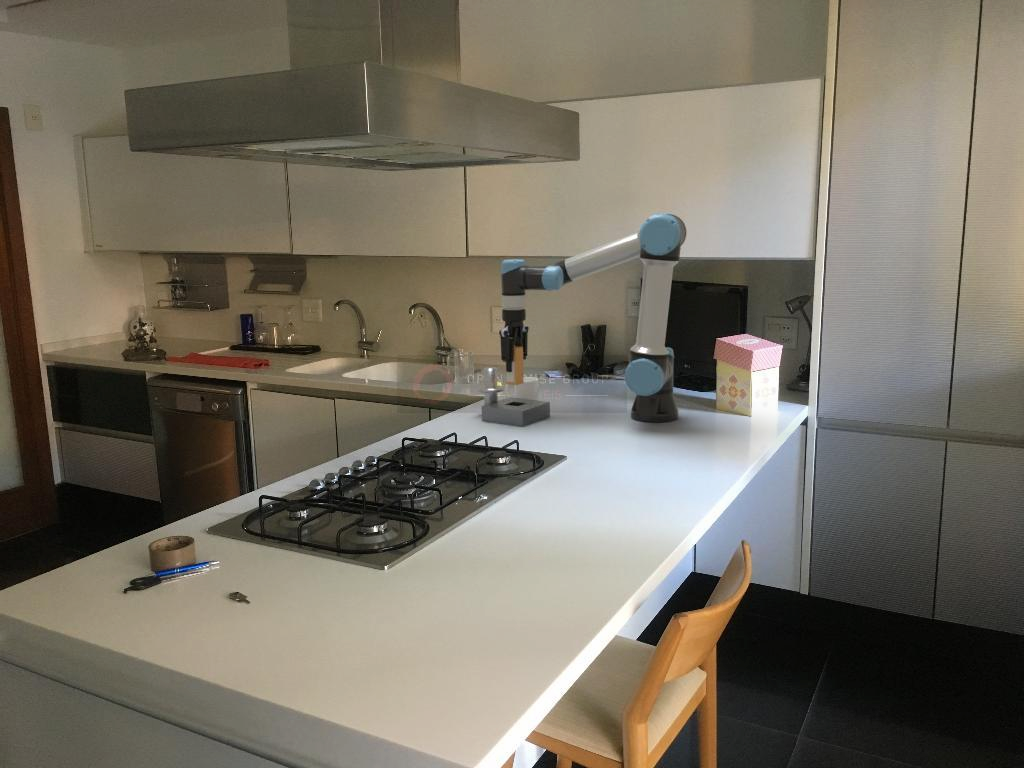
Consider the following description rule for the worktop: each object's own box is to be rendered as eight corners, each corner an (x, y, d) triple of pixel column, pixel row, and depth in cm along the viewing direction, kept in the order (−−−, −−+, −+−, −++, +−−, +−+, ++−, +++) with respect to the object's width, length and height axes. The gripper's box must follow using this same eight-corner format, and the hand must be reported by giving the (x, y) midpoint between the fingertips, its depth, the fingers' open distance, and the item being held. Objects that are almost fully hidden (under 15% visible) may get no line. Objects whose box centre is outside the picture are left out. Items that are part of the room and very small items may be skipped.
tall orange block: (523, 383, 271) (522, 346, 269) (516, 385, 268) (515, 348, 265) (513, 382, 273) (512, 345, 271) (506, 384, 270) (505, 347, 268)
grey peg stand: (549, 416, 274) (549, 368, 271) (522, 426, 262) (521, 376, 259) (495, 409, 287) (494, 363, 284) (466, 418, 274) (465, 370, 271)
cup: (534, 411, 283) (533, 381, 281) (501, 409, 287) (500, 380, 285) (541, 406, 291) (541, 377, 289) (509, 404, 295) (509, 376, 293)
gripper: (519, 305, 275) (520, 375, 279) (488, 310, 261) (490, 383, 265) (538, 306, 270) (539, 377, 275) (508, 311, 257) (509, 386, 261)
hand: (515, 380), depth 270 cm, fingers closed on tall orange block, 4 cm apart
